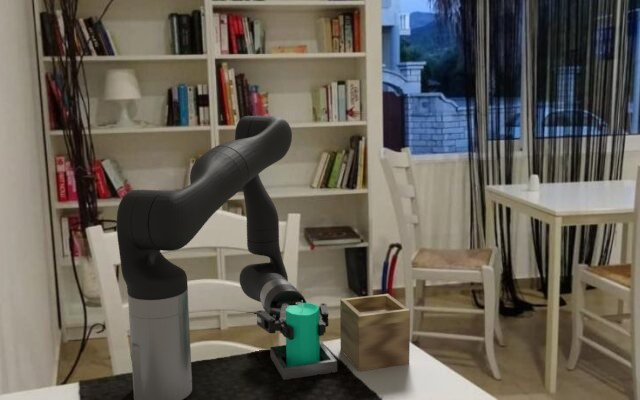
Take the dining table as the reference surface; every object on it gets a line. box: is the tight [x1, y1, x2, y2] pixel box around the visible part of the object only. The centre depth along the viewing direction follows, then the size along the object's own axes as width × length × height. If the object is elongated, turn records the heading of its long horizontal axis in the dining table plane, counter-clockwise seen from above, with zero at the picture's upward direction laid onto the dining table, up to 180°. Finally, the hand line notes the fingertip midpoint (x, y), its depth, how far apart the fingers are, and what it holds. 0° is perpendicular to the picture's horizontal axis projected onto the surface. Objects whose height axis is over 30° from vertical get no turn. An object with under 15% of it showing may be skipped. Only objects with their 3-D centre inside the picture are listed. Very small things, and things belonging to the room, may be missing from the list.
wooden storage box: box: [339, 293, 411, 372], centre depth 115 cm, size 10×10×10 cm
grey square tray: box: [269, 340, 338, 381], centre depth 112 cm, size 10×10×2 cm
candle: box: [285, 300, 321, 366], centre depth 111 cm, size 6×6×12 cm
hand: (306, 332), depth 109 cm, fingers closed on candle, 5 cm apart
